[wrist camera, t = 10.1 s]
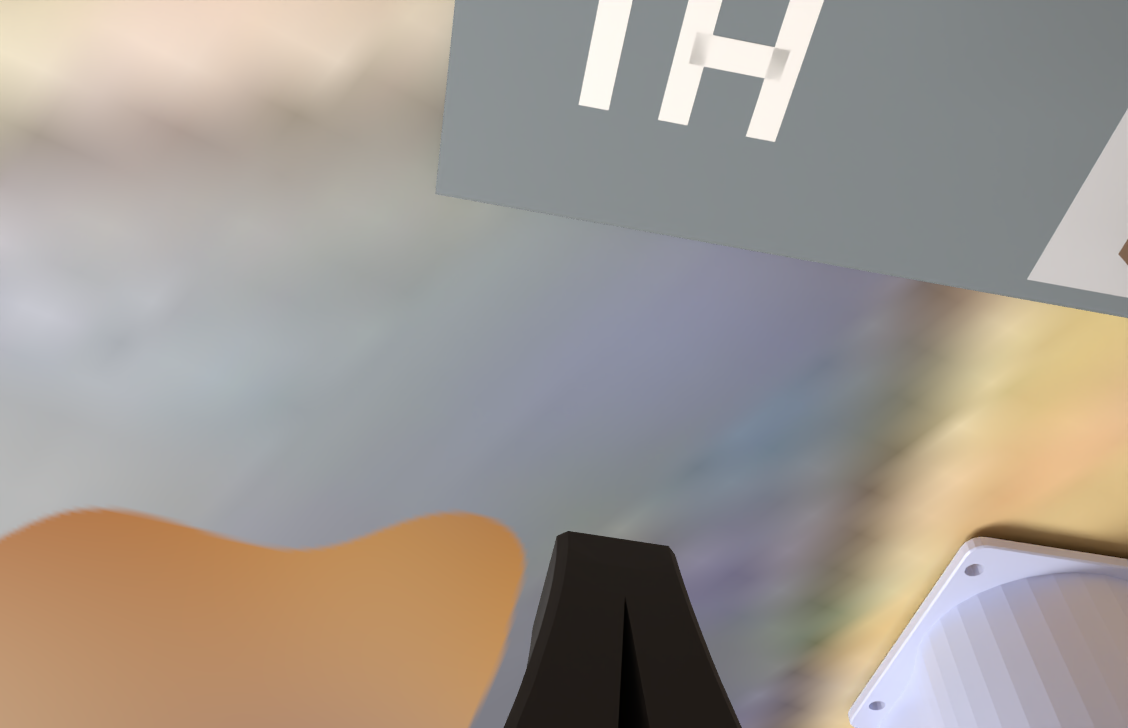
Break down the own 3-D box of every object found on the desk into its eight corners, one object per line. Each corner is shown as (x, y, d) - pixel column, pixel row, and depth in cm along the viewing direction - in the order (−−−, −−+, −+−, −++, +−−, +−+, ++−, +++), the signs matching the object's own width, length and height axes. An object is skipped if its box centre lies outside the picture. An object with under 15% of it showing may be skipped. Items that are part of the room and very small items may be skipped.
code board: (1335, 348, 21) (1344, 357, 21) (437, 187, 19) (435, 194, 19) (1649, -3, 16) (1665, 2, 16) (483, -260, 14) (481, -258, 14)
